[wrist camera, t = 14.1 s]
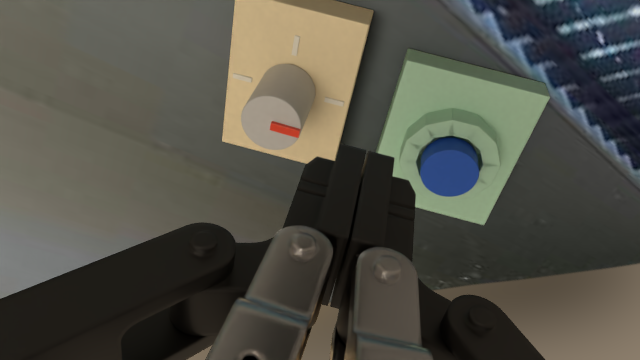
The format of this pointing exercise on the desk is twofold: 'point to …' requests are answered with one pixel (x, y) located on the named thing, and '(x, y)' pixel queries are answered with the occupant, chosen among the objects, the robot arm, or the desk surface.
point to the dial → (278, 107)
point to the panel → (304, 52)
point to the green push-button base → (460, 126)
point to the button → (449, 167)
